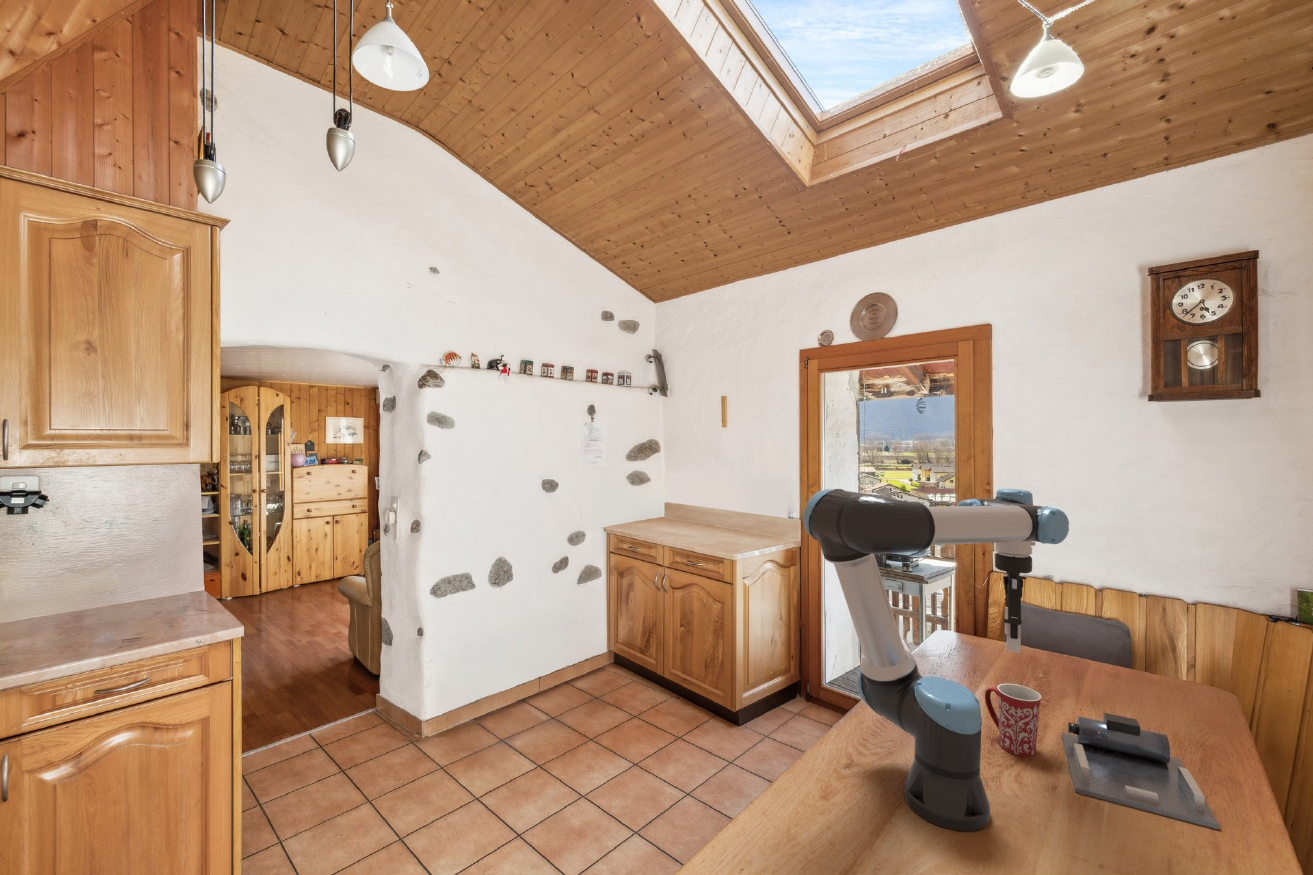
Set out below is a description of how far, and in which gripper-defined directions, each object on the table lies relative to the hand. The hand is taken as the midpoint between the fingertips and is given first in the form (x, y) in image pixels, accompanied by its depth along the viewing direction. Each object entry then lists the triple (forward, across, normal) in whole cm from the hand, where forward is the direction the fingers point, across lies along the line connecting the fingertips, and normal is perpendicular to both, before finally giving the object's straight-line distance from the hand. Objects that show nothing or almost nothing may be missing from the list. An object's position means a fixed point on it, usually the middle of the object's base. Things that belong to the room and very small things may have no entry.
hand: (1012, 642), depth 138 cm
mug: (+25, 0, 0) cm, 25 cm away
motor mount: (+24, -2, -22) cm, 33 cm away
